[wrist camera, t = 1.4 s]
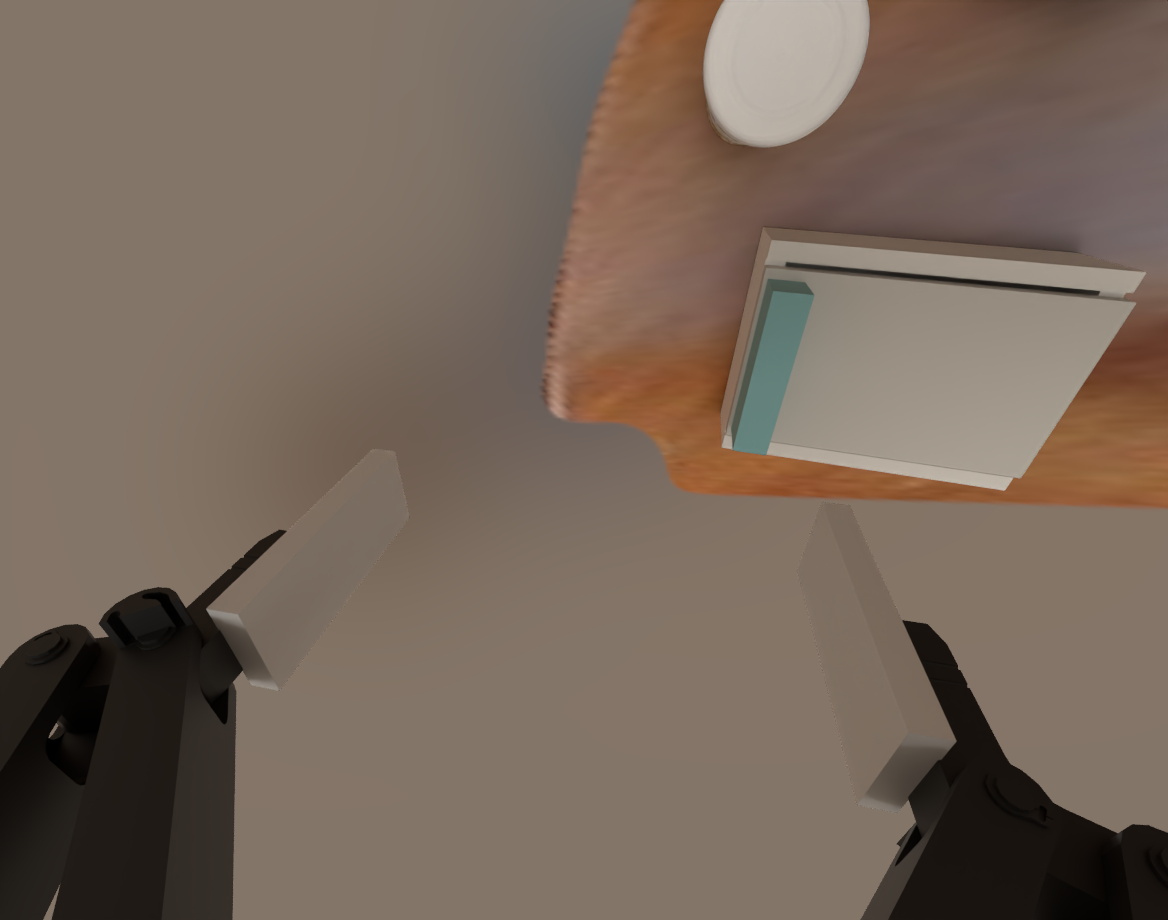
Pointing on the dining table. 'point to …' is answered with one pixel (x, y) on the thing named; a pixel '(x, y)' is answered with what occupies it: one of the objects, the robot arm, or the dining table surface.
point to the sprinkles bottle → (781, 66)
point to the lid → (914, 367)
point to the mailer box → (928, 264)
